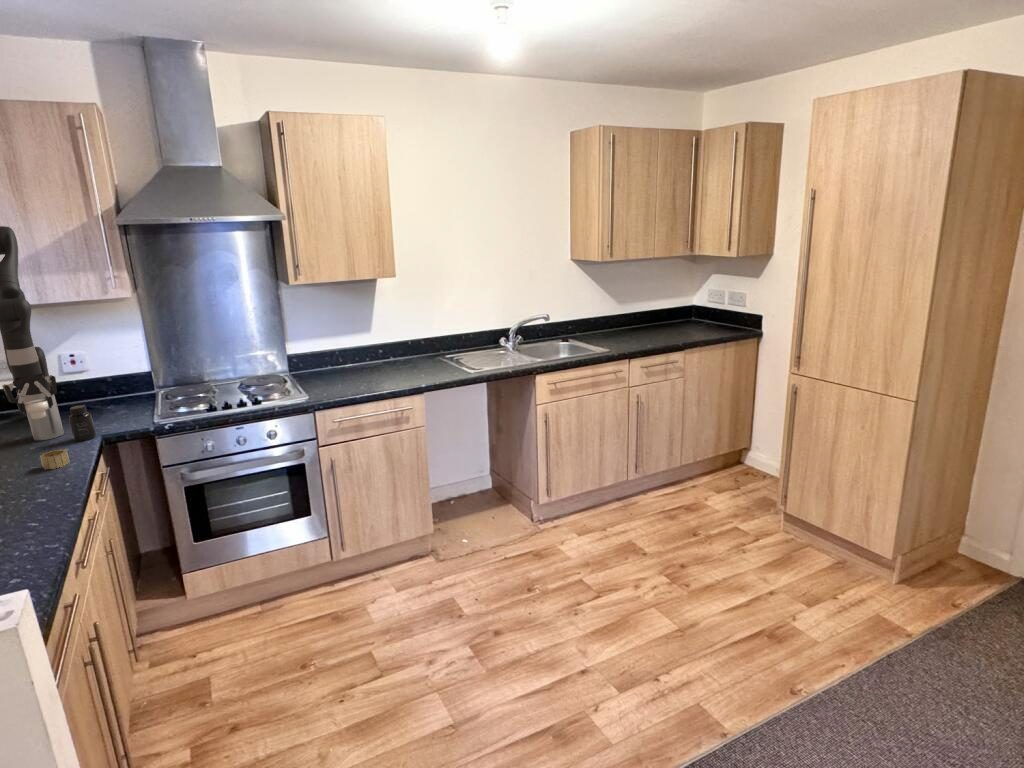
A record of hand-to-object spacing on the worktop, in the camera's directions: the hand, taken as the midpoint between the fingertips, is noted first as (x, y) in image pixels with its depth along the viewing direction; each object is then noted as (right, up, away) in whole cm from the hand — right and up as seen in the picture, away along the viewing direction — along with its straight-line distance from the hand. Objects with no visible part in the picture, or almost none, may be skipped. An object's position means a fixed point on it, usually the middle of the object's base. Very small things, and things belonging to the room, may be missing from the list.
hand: (37, 410), depth 202 cm
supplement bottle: (+1, -11, +22) cm, 25 cm away
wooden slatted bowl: (+8, -18, -2) cm, 20 cm away
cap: (0, -2, +1) cm, 2 cm away
